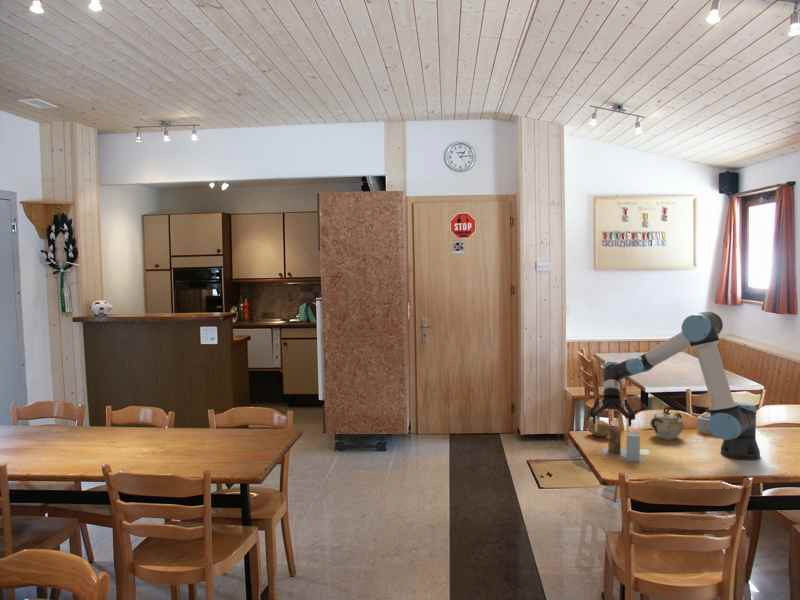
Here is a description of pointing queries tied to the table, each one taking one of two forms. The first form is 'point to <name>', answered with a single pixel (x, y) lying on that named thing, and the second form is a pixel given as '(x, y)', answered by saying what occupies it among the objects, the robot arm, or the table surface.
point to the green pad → (644, 452)
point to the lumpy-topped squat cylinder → (704, 424)
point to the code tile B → (632, 461)
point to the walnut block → (614, 440)
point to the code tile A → (606, 452)
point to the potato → (599, 428)
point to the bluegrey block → (633, 447)
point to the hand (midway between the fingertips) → (611, 431)
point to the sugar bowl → (667, 425)
